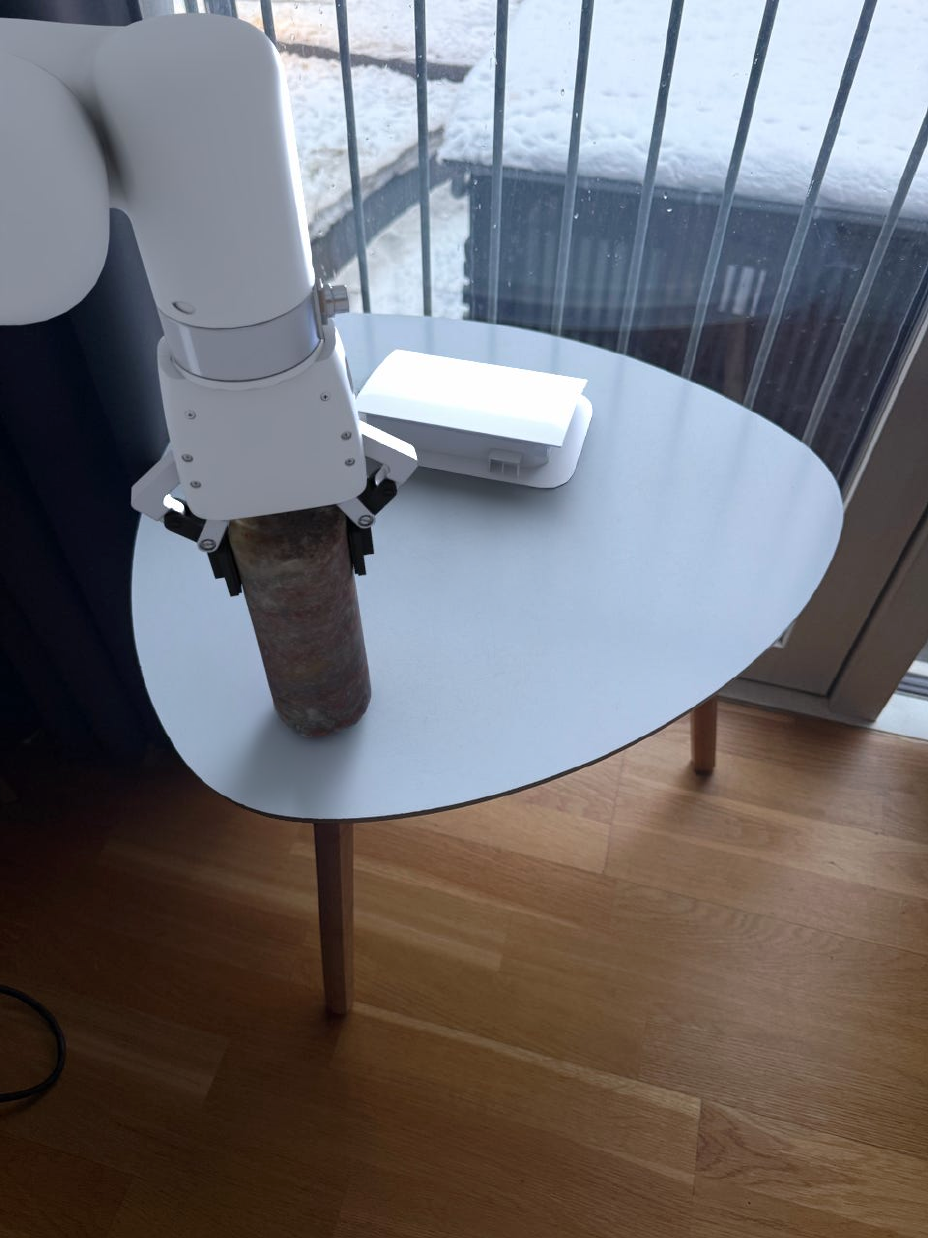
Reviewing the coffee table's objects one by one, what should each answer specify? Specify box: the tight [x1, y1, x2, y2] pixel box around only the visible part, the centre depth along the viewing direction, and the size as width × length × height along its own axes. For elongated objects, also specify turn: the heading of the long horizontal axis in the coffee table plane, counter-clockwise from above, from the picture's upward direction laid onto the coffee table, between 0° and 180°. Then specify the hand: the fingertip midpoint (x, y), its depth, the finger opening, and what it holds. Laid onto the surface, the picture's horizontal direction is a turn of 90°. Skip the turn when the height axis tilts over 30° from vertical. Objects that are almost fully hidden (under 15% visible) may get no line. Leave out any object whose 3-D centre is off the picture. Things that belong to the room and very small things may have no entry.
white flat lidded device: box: [355, 349, 593, 489], centre depth 90 cm, size 15×23×4 cm, turn 74°
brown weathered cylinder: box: [228, 504, 372, 738], centre depth 62 cm, size 8×7×20 cm
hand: (296, 568), depth 58 cm, fingers closed on brown weathered cylinder, 7 cm apart
